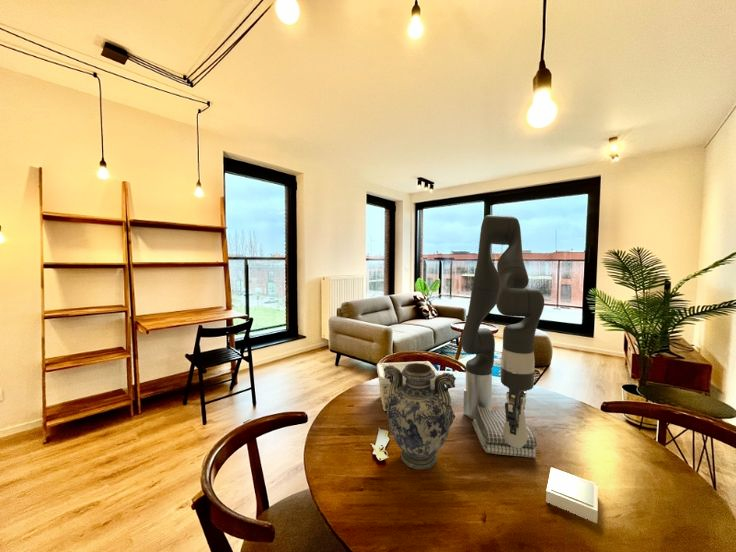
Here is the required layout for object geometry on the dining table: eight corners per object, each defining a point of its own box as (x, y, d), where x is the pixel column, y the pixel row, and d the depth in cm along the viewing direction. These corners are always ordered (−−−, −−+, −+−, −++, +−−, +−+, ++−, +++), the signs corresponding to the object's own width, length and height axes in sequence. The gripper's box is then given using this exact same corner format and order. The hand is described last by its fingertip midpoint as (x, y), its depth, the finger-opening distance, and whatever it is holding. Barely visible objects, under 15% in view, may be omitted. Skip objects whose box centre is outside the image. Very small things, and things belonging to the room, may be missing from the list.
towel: (485, 457, 91) (485, 432, 90) (471, 424, 109) (471, 403, 108) (538, 461, 89) (539, 435, 88) (515, 426, 107) (515, 404, 107)
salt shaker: (530, 451, 74) (532, 401, 73) (505, 449, 75) (507, 399, 74) (523, 437, 80) (525, 390, 79) (500, 435, 81) (501, 388, 80)
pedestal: (546, 502, 74) (546, 489, 74) (550, 477, 82) (551, 466, 81) (597, 523, 68) (597, 510, 67) (597, 495, 76) (597, 483, 75)
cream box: (380, 414, 116) (380, 377, 115) (376, 394, 132) (376, 362, 131) (441, 411, 117) (441, 374, 116) (429, 392, 133) (429, 360, 132)
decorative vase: (457, 445, 96) (457, 360, 94) (453, 488, 78) (453, 385, 76) (392, 433, 103) (390, 354, 101) (375, 471, 85) (373, 376, 83)
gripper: (508, 355, 84) (506, 415, 85) (494, 372, 72) (492, 440, 74) (538, 361, 79) (536, 424, 80) (528, 380, 68) (526, 452, 69)
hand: (515, 431), depth 77 cm, fingers closed on salt shaker, 3 cm apart
